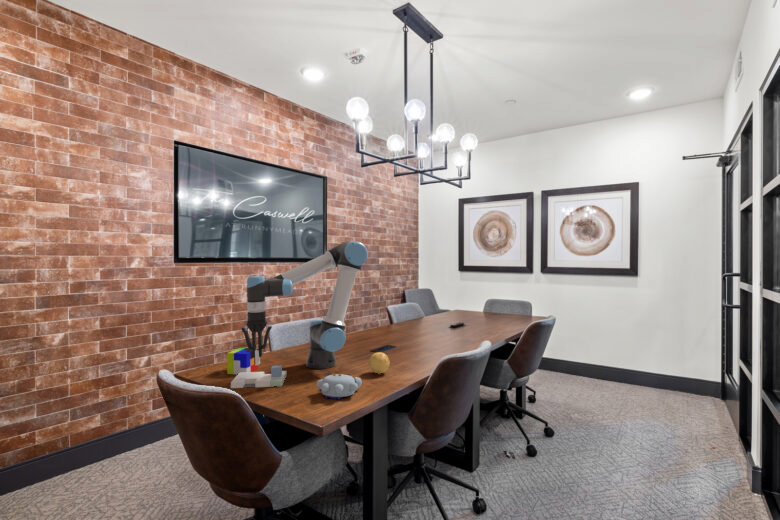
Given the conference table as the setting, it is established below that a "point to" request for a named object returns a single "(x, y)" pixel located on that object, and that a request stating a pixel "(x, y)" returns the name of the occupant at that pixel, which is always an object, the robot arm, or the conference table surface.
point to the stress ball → (379, 362)
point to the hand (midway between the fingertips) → (257, 364)
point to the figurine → (339, 385)
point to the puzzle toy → (241, 361)
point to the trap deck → (257, 380)
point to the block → (276, 371)
